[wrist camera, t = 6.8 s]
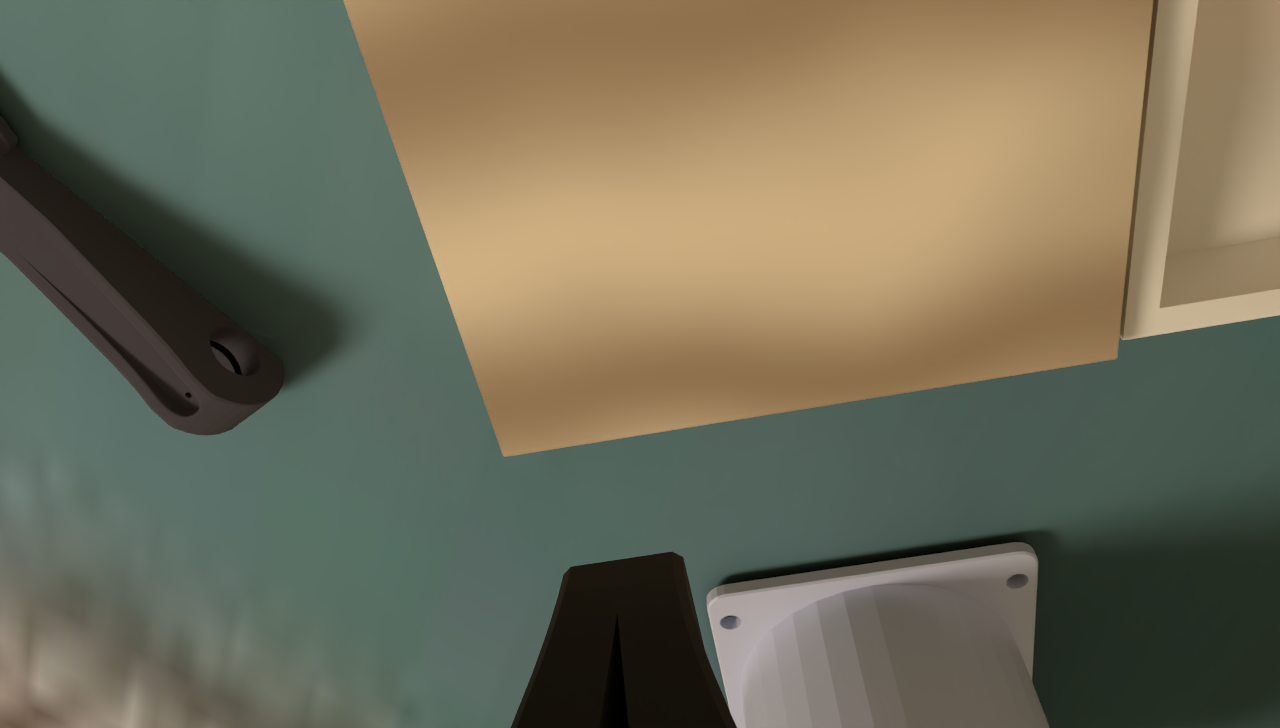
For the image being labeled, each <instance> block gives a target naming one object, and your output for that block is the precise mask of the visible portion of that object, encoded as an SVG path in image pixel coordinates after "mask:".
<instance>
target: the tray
mask: <svg viewBox="0 0 1280 728" xmlns="http://www.w3.org/2000/svg"><path fill="white" fill-rule="evenodd" d="M1277 315H1280V0H1153V9H1152V19H1151V29H1150V38H1149V48H1148V58H1147V68H1146V78H1145V88H1144V97H1143V107H1142V117H1141V127H1140V137H1139V146H1138V156H1137V166H1136V176H1135V186H1134V196H1133V205H1132V215H1131V225H1130V235H1129V245H1128V255H1127V264H1126V274H1125V284H1124V294H1123V304H1122V314H1121V323H1120V333H1119V335H1120V337H1121V338H1122V340H1128V339H1134V338H1140V337H1147V336H1153V335H1159V334H1165V333H1171V332H1178V331H1184V330H1190V329H1196V328H1202V327H1209V326H1215V325H1221V324H1227V323H1233V322H1240V321H1246V320H1252V319H1258V318H1264V317H1271V316H1277Z"/></svg>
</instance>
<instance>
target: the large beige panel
mask: <svg viewBox="0 0 1280 728" xmlns="http://www.w3.org/2000/svg"><path fill="white" fill-rule="evenodd" d="M343 1H344V4H345V7H346V9H347V12H348V15H349V18H350V21H351V24H352V26H353V29H354V32H355V35H356V38H357V41H358V44H359V46H360V49H361V52H362V55H363V58H364V61H365V64H366V66H367V69H368V72H369V75H370V78H371V81H372V83H373V86H374V89H375V92H376V95H377V98H378V101H379V103H380V106H381V109H382V112H383V115H384V118H385V121H386V123H387V126H388V129H389V132H390V135H391V138H392V140H393V143H394V146H395V149H396V152H397V155H398V158H399V160H400V163H401V166H402V169H403V172H404V175H405V178H406V180H407V183H408V186H409V189H410V192H411V195H412V197H413V200H414V203H415V206H416V209H417V212H418V215H419V217H420V220H421V223H422V226H423V229H424V232H425V235H426V237H427V240H428V243H429V246H430V249H431V252H432V254H433V257H434V260H435V263H436V266H437V269H438V272H439V274H440V277H441V280H442V283H443V286H444V289H445V292H446V294H447V297H448V300H449V303H450V306H451V309H452V311H453V314H454V317H455V320H456V323H457V326H458V329H459V331H460V334H461V337H462V340H463V343H464V346H465V349H466V351H467V354H468V357H469V360H470V363H471V366H472V368H473V371H474V374H475V377H476V380H477V383H478V386H479V388H480V391H481V394H482V397H483V400H484V403H485V406H486V408H487V411H488V414H489V417H490V420H491V423H492V425H493V428H494V431H495V434H496V437H497V440H498V443H499V445H500V448H501V451H502V454H503V457H507V456H513V455H519V454H525V453H532V452H538V451H544V450H550V449H557V448H563V447H569V446H575V445H582V444H588V443H594V442H600V441H607V440H613V439H619V438H625V437H632V436H638V435H644V434H650V433H657V432H663V431H669V430H675V429H682V428H688V427H694V426H700V425H707V424H713V423H719V422H725V421H732V420H738V419H744V418H750V417H757V416H763V415H769V414H775V413H782V412H788V411H794V410H800V409H807V408H813V407H819V406H825V405H832V404H838V403H844V402H850V401H857V400H863V399H869V398H875V397H882V396H888V395H894V394H900V393H906V392H913V391H919V390H925V389H931V388H938V387H944V386H950V385H956V384H963V383H969V382H975V381H981V380H988V379H994V378H1000V377H1006V376H1013V375H1019V374H1025V373H1031V372H1038V371H1044V370H1050V369H1056V368H1063V367H1069V366H1075V365H1081V364H1088V363H1094V362H1100V361H1106V360H1113V359H1117V353H1118V343H1119V333H1120V323H1121V314H1122V304H1123V294H1124V284H1125V274H1126V264H1127V255H1128V245H1129V235H1130V225H1131V215H1132V205H1133V196H1134V186H1135V176H1136V166H1137V156H1138V146H1139V137H1140V127H1141V117H1142V107H1143V97H1144V88H1145V78H1146V68H1147V58H1148V48H1149V38H1150V29H1151V19H1152V9H1153V0H343Z"/></svg>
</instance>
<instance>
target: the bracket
mask: <svg viewBox="0 0 1280 728" xmlns="http://www.w3.org/2000/svg"><path fill="white" fill-rule="evenodd" d="M17 144H18V138H17V137H16V135H15V134H14V133H13V131H12V130H11V129H10V127H9V126H8V124H7V123H6V122H5V120H4V119H3V118H2V117H1V115H0V252H2V253H3V254H4V255H5V256H6V257H7V258H8V259H9V260H10V261H11V262H12V263H13V264H14V265H15V266H16V267H17V268H18V269H19V270H20V271H21V272H22V273H23V274H24V275H25V276H26V277H27V278H28V279H29V280H30V281H31V282H32V283H33V284H34V285H35V286H36V287H37V288H38V289H39V290H40V291H41V292H42V293H43V294H44V295H45V296H46V297H47V298H48V299H49V300H50V301H51V302H52V303H53V304H54V305H55V306H56V307H57V308H58V309H59V310H60V311H61V312H62V313H63V314H64V315H65V316H66V317H67V318H68V319H69V320H70V321H71V322H72V323H73V324H74V325H75V326H76V327H77V328H78V329H79V330H80V331H81V332H82V333H83V334H84V335H85V336H86V338H87V339H88V340H89V341H90V342H91V343H92V344H93V345H94V346H95V347H96V348H97V349H98V350H99V351H100V352H101V353H102V354H103V355H104V356H105V357H106V358H107V359H108V360H109V361H110V362H111V363H112V364H113V365H114V366H115V367H116V368H117V369H118V370H119V371H120V373H121V374H122V375H123V376H124V377H125V378H126V379H127V380H128V381H129V382H130V384H131V385H132V386H133V387H134V388H135V389H136V391H137V392H138V393H139V394H140V395H141V397H142V398H143V399H144V400H145V402H146V403H147V404H148V406H149V407H150V408H151V409H152V410H153V411H154V412H155V413H156V414H157V415H158V416H159V417H161V418H162V419H163V420H164V421H165V422H166V423H167V424H168V425H170V426H171V427H173V428H175V429H178V430H181V431H184V432H187V433H191V434H196V435H215V434H220V433H223V432H226V431H228V430H231V429H233V428H234V427H235V426H237V425H238V424H239V423H241V422H242V421H243V420H245V419H246V418H247V417H249V416H250V415H252V414H253V413H254V412H256V411H257V410H258V409H260V408H261V407H262V406H264V405H265V404H266V403H268V402H269V401H270V400H271V399H273V398H274V397H275V396H276V395H277V394H278V393H279V391H280V389H281V387H282V385H283V378H284V370H283V364H282V361H281V360H280V359H279V358H278V357H276V356H275V355H274V354H273V353H272V352H270V351H269V350H268V349H267V348H265V347H264V346H263V345H262V344H260V343H259V342H258V341H257V340H255V339H254V338H253V337H252V336H250V335H249V334H248V333H247V332H245V331H244V330H243V329H242V328H241V327H239V326H238V325H237V324H236V323H234V322H233V321H232V320H231V319H229V318H228V317H227V316H226V315H224V314H223V313H222V312H221V311H219V310H218V309H217V308H216V307H214V306H213V305H212V304H211V303H209V302H208V301H207V300H206V299H204V298H203V297H202V296H201V295H200V294H198V293H197V292H196V291H195V290H193V289H192V288H191V287H190V286H188V285H187V284H186V283H185V282H183V281H182V280H181V279H180V278H178V277H177V276H176V275H175V274H173V273H172V272H171V271H170V270H168V269H167V268H166V267H165V266H163V265H162V264H161V263H160V262H159V261H157V260H156V259H155V258H154V257H152V256H151V255H150V254H149V253H147V252H146V251H145V250H144V249H142V248H141V247H140V246H139V245H137V244H136V243H135V242H134V241H132V240H131V239H130V238H129V237H127V236H126V235H125V234H124V233H122V232H121V231H120V230H119V229H118V228H116V227H115V226H114V225H113V224H111V223H110V222H109V221H108V220H106V219H105V218H104V217H103V216H101V215H100V214H99V213H98V212H96V211H95V210H94V209H93V208H91V207H90V206H89V205H88V204H86V203H85V202H84V201H83V200H81V199H80V198H79V197H78V196H77V195H75V194H74V193H73V192H72V191H70V190H69V189H68V188H67V187H65V186H64V185H63V184H62V183H60V182H59V181H58V180H57V179H55V178H54V177H53V176H52V175H50V174H49V173H48V172H47V171H45V170H44V169H43V168H42V167H40V166H39V165H38V164H37V163H36V162H34V161H33V160H32V159H31V158H29V157H28V156H27V155H26V154H24V153H23V152H22V151H21V150H20V149H19V148H18V147H16V145H17ZM210 340H212V341H215V342H218V343H219V344H221V345H223V346H224V347H225V348H227V349H228V350H229V351H230V352H231V353H232V354H233V355H234V357H235V358H236V360H237V362H238V363H239V365H240V369H241V372H242V375H238V374H235V371H234V368H233V367H232V365H231V363H230V361H229V360H228V359H227V358H226V357H225V355H223V354H222V353H221V352H220V351H219V350H217V349H215V348H214V347H212V346H211V345H210Z"/></svg>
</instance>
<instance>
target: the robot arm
mask: <svg viewBox="0 0 1280 728" xmlns="http://www.w3.org/2000/svg"><path fill="white" fill-rule="evenodd" d="M1016 574H1018V575H1016ZM1013 575H1015V576H1013ZM1037 580H1038V559H1037V556H1036V554H1035V552H1034V549H1033V548H1032V547H1031V546H1030V545H1029V544H1026V543H1023V542H1011V543H1005V544H998V545H991V546H984V547H977V548H971V549H964V550H957V551H950V552H943V553H936V554H930V555H923V556H916V557H909V558H902V559H895V560H889V561H882V562H875V563H868V564H861V565H854V566H848V567H841V568H834V569H827V570H820V571H813V572H807V573H800V574H793V575H786V576H779V577H773V578H766V579H759V580H752V581H745V582H738V583H732V584H725V585H721V586H717V587H715V588H714V589H712V590H711V591H710V592H709V594H708V595H707V611H708V615H709V620H710V624H711V629H712V633H713V638H714V642H715V647H716V651H717V655H718V660H719V664H720V669H721V673H722V678H723V682H724V687H725V691H726V696H727V700H728V705H729V709H730V711H729V709H728V706H727V704H726V701H725V699H724V697H723V694H722V692H721V690H720V687H719V685H718V682H717V680H716V678H715V675H714V673H713V671H712V668H711V666H710V663H709V660H708V658H707V655H706V652H705V649H704V645H703V640H702V636H701V632H700V628H699V623H698V619H697V615H696V610H695V606H694V602H693V598H692V593H691V589H690V585H689V580H688V576H687V572H686V568H685V563H684V559H683V557H681V556H679V555H678V554H676V553H674V552H667V553H660V554H654V555H647V556H640V557H634V558H627V559H620V560H614V561H607V562H600V563H594V564H587V565H580V566H574V567H570V568H569V570H568V571H567V572H566V573H565V574H564V576H563V579H562V583H561V587H560V591H559V595H558V598H557V602H556V605H555V608H554V612H553V615H552V618H551V621H550V625H549V628H548V631H547V634H546V637H545V640H544V642H543V645H542V648H541V651H540V654H539V657H538V659H537V662H536V665H535V668H534V671H533V673H532V676H531V678H530V681H529V683H528V686H527V688H526V691H525V693H524V696H523V698H522V701H521V703H520V706H519V708H518V711H517V713H516V716H515V718H514V721H513V723H512V726H511V728H1050V727H1049V724H1048V722H1047V719H1046V716H1045V714H1044V711H1043V709H1042V706H1041V704H1040V701H1039V698H1038V696H1037V693H1036V691H1035V688H1034V686H1033V683H1032V672H1033V653H1034V635H1035V617H1036V598H1037ZM729 615H731V616H732V617H726V616H729Z"/></svg>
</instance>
